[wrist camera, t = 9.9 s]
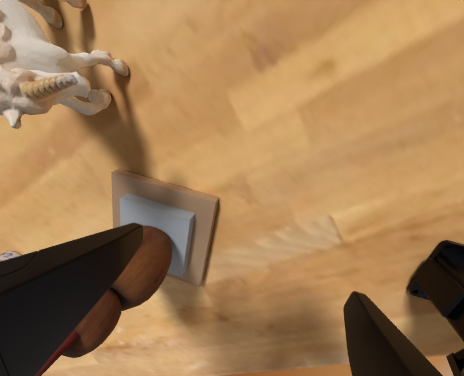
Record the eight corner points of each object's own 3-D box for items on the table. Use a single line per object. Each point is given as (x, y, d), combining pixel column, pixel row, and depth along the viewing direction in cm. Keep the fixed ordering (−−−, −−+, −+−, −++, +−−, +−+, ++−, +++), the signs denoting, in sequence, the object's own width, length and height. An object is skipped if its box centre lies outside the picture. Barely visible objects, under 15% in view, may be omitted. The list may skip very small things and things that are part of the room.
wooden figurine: (171, 213, 22) (-14, 393, 8) (188, 259, 24) (59, 471, 10) (118, 221, 24) (-100, 377, 10) (138, 263, 26) (-26, 444, 12)
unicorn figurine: (167, 153, 22) (29, 212, 10) (12, 25, 21) (-353, -80, 9) (205, 93, 19) (74, 77, 7) (27, -59, 18) (-489, -387, 6)
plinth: (218, 197, 23) (211, 207, 21) (203, 279, 28) (196, 294, 25) (119, 169, 24) (102, 175, 22) (120, 251, 29) (106, 263, 27)
